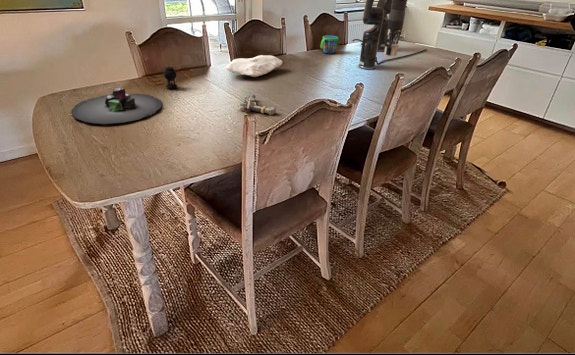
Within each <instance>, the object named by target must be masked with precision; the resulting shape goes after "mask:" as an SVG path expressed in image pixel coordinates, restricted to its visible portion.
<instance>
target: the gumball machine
mask: <svg viewBox="0 0 575 355" xmlns="http://www.w3.org/2000/svg"><path fill="white" fill-rule="evenodd" d="M176 69H177V67H176V66H174V67H173V66H166V67H165V68H164V67H162V68H161V70H162V71H163V76H162V78H165V79H166V80H167V81H166V84H165V86H164V87H165V88H167V89H168V90H174V89H176V88H177V89H179V85H178V84H176V83H177V82H178V78H177V71H176Z"/></svg>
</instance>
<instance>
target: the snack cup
mask: <svg viewBox="0 0 575 355" xmlns="http://www.w3.org/2000/svg"><path fill="white" fill-rule="evenodd" d="M339 45H340V39H339V36H337V35H328V34H327V35H326V34H325V35H323V36H322V39H321V42H320V46H319V48H320V49H321V50H323V53H324V54H328V55H329V54H330V55H331V54H335V52H336V49H337V47H339Z"/></svg>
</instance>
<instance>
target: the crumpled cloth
mask: <svg viewBox="0 0 575 355" xmlns="http://www.w3.org/2000/svg"><path fill="white" fill-rule="evenodd" d="M281 65H283V60H281V59H280V58H278V57H277V56H274V55H268V54H267V55H265V54H264V55H263V54H259V55H257V56H255V57H254V56H253V57H249V58H244V57H243V58H242V57H240V58H234V59H232V60H231V62H229V64H227V65H225V68H226V70H227V71H228V72H231V73H233V74H238V75H240V76H244V75H245V76H247V77H253V78H257V77H259V76H263V75H267V74H268V73H270V72H272V71H273V70H275V69H277V68H279V67H281Z"/></svg>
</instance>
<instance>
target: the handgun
mask: <svg viewBox="0 0 575 355" xmlns="http://www.w3.org/2000/svg"><path fill="white" fill-rule="evenodd" d="M239 106H240V108H239V109H240V111H243V112H244V113H250V112H256V113H261V114H264V113H266V114H268V115H270V116H272V115H275V113H276V111H277V108H276V107H275V106H271V107H268V106H267V105H257V102H256V94H253V93H246V94H245V95H244V103H240V105H239Z"/></svg>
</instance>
